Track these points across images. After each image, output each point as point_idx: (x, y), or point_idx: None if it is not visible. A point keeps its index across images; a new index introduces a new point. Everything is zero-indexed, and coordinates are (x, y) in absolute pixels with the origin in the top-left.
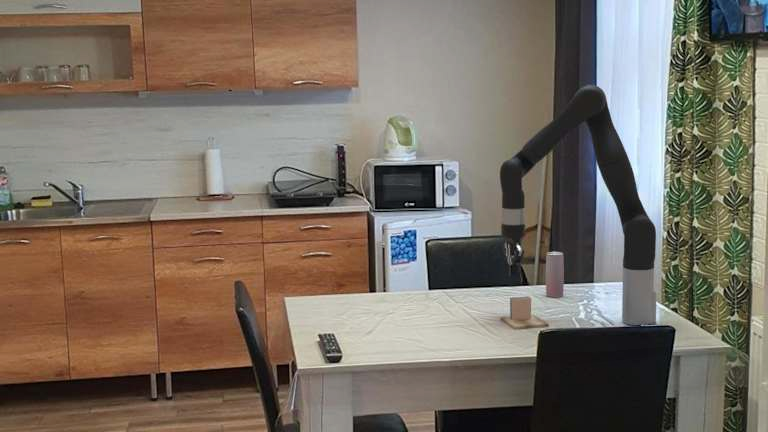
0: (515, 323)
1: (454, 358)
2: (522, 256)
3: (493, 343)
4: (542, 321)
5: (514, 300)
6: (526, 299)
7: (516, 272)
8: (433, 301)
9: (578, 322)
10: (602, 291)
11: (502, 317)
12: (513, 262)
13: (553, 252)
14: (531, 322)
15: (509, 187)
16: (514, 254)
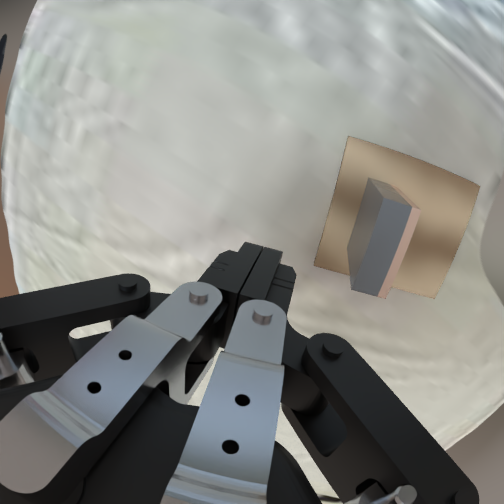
0: (409, 274)
1: (448, 446)
2: (429, 438)
3: (459, 386)
4: (449, 180)
5: (387, 289)
6: (410, 232)
7: (293, 280)
8: (67, 279)
9: (485, 67)
10: None
11: (318, 261)
12: (326, 413)
13: None
14: (435, 222)
15: None
16: (345, 498)
